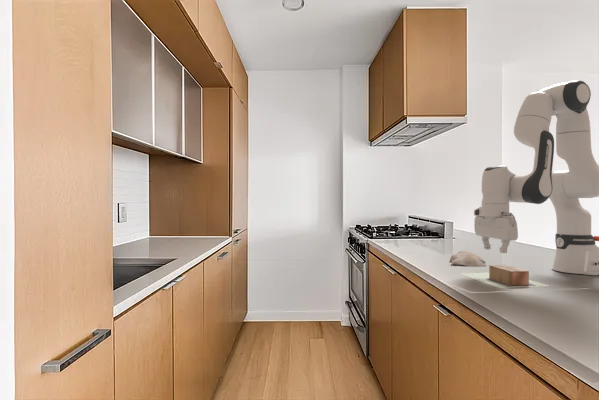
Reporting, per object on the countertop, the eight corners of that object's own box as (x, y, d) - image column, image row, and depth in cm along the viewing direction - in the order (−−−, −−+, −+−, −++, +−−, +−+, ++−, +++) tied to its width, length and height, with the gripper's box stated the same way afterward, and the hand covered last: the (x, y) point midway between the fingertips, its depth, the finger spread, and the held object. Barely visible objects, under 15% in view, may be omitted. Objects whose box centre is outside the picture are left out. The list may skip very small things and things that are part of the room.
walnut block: (505, 264, 144) (529, 271, 132) (505, 277, 145) (529, 285, 132) (489, 265, 144) (511, 271, 132) (489, 278, 144) (511, 285, 132)
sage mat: (503, 273, 155) (503, 272, 155) (550, 287, 131) (550, 285, 131) (458, 274, 153) (458, 273, 153) (498, 289, 129) (498, 287, 129)
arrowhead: (450, 255, 172) (449, 245, 201) (450, 267, 172) (449, 255, 201) (488, 258, 168) (481, 247, 196) (487, 270, 168) (481, 258, 196)
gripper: (523, 212, 135) (523, 255, 135) (486, 210, 156) (486, 247, 156) (505, 212, 134) (505, 255, 135) (471, 210, 155) (471, 247, 155)
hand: (495, 251), depth 145 cm, fingers open, 8 cm apart
